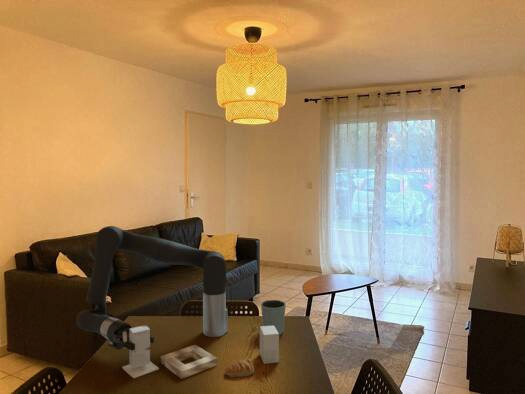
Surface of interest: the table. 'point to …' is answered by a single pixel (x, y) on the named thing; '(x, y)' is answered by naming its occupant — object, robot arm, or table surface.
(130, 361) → the skincare box
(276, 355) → the small box
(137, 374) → the white pad
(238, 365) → the pastry
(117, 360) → the table surface
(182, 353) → the socket block
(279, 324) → the grey green cup
